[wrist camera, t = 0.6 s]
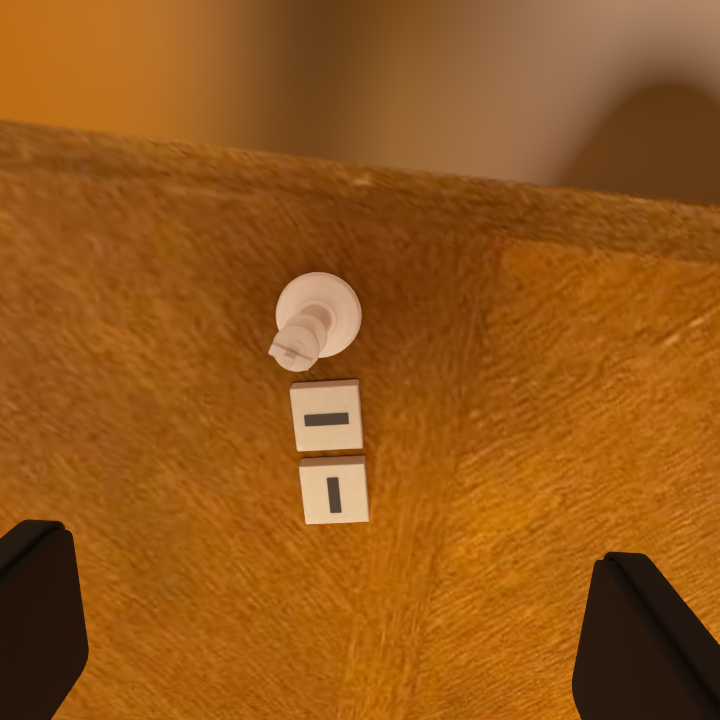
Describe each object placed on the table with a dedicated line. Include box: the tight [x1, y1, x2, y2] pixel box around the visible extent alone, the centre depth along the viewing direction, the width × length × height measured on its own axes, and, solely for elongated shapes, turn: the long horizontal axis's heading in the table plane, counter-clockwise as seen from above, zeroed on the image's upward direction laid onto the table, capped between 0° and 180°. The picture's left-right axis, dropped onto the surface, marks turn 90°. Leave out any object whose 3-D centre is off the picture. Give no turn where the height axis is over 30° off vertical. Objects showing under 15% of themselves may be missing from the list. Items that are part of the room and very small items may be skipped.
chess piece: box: [268, 272, 362, 372], centre depth 23 cm, size 5×5×10 cm
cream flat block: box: [290, 379, 369, 524], centre depth 30 cm, size 9×4×1 cm, turn 4°
